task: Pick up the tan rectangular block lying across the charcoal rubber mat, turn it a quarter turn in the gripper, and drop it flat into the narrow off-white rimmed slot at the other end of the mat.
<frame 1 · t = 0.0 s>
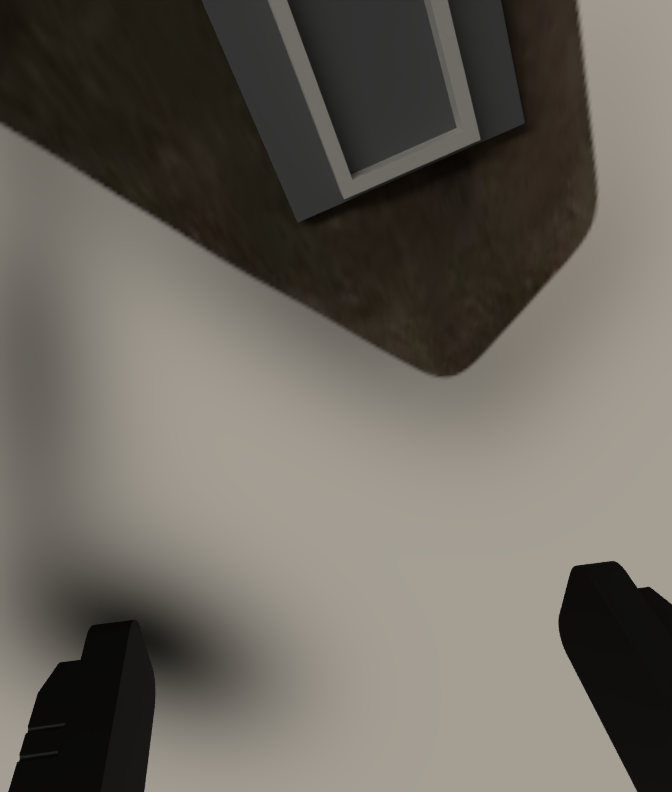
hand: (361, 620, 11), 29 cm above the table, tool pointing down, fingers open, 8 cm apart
slot frame: (370, 56, 32), resting on mat
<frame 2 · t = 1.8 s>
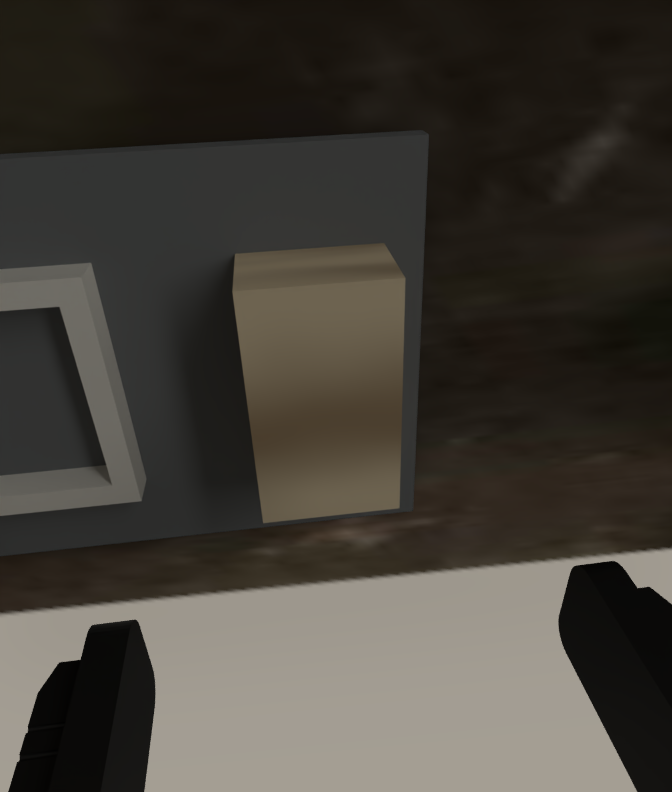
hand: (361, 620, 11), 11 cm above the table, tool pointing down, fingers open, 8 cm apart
mat: (92, 373, 20), on the table
tan rectangular block: (317, 365, 20), point 1 cm above the table, touching mat
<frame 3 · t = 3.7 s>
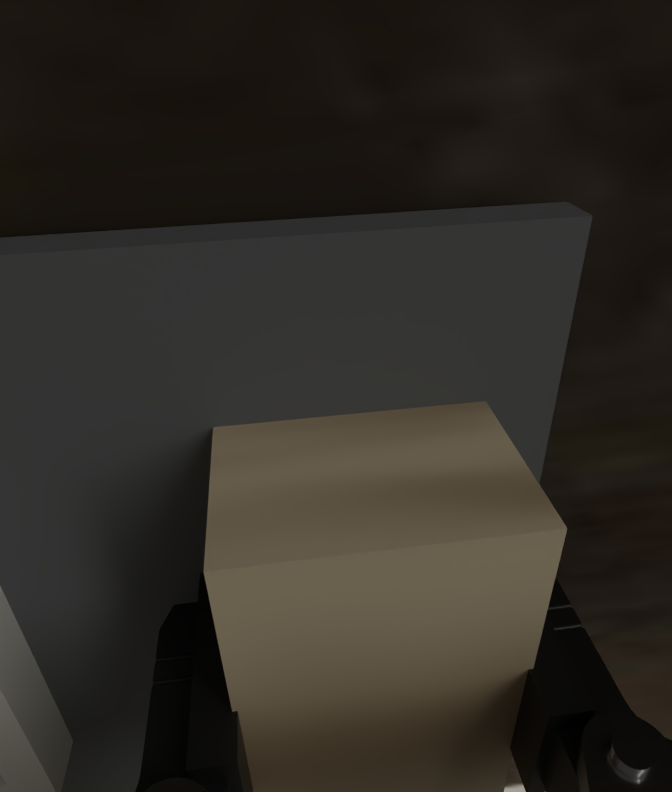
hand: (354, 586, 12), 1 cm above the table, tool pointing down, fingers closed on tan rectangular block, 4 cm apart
tan rectangular block: (354, 581, 12), point 1 cm above the table, touching gripper, mat
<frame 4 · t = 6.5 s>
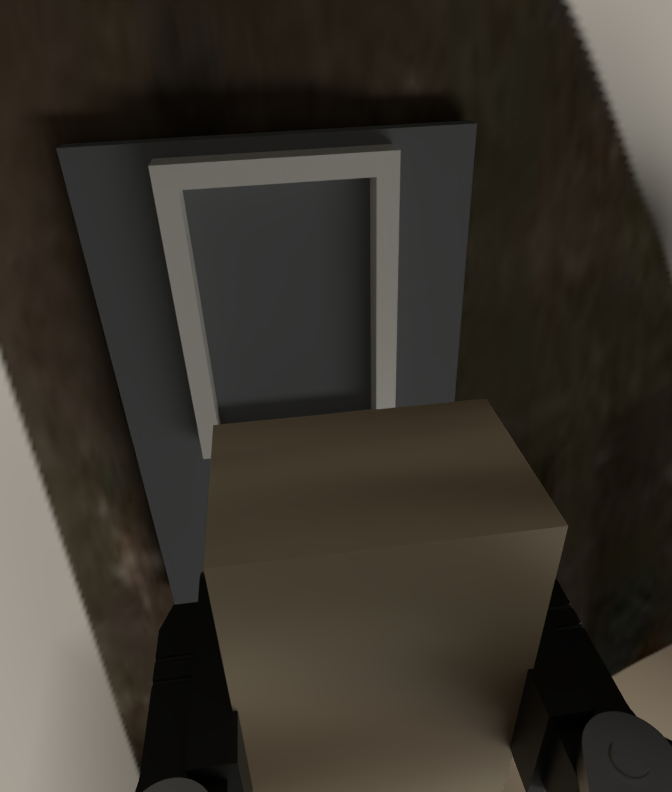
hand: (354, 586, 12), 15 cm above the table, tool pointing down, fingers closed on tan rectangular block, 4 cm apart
slot frame: (286, 302, 24), resting on mat
mat: (294, 401, 27), on the table
tan rectangular block: (354, 579, 12), point 14 cm above the table, touching gripper
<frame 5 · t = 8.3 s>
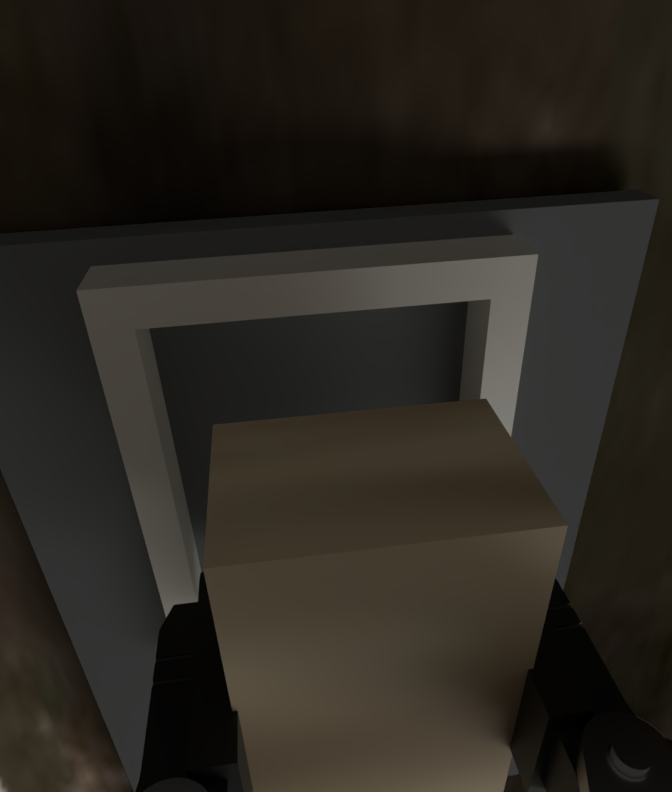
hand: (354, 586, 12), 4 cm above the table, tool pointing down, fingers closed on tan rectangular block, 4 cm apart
slot frame: (318, 463, 15), resting on mat
mat: (326, 589, 18), on the table
tan rectangular block: (354, 579, 12), point 4 cm above the table, touching gripper
when the fingers open (2 cm above the table, at t = 9.5 s): tan rectangular block drops 1 cm, resting on mat.
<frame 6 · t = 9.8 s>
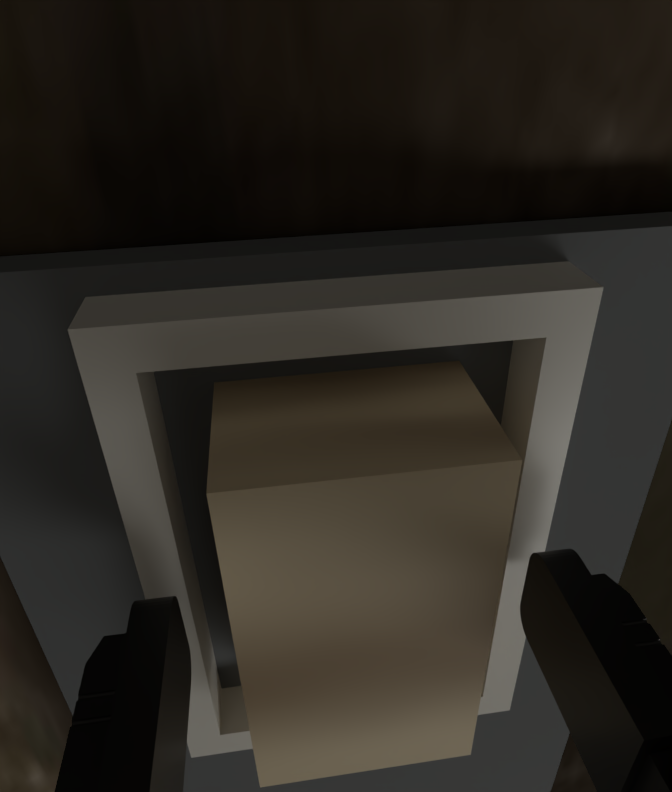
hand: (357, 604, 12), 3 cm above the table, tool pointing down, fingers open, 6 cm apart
slot frame: (338, 506, 14), resting on mat
mat: (342, 637, 16), on the table
tan rectangular block: (343, 531, 13), point 1 cm above the table, touching mat
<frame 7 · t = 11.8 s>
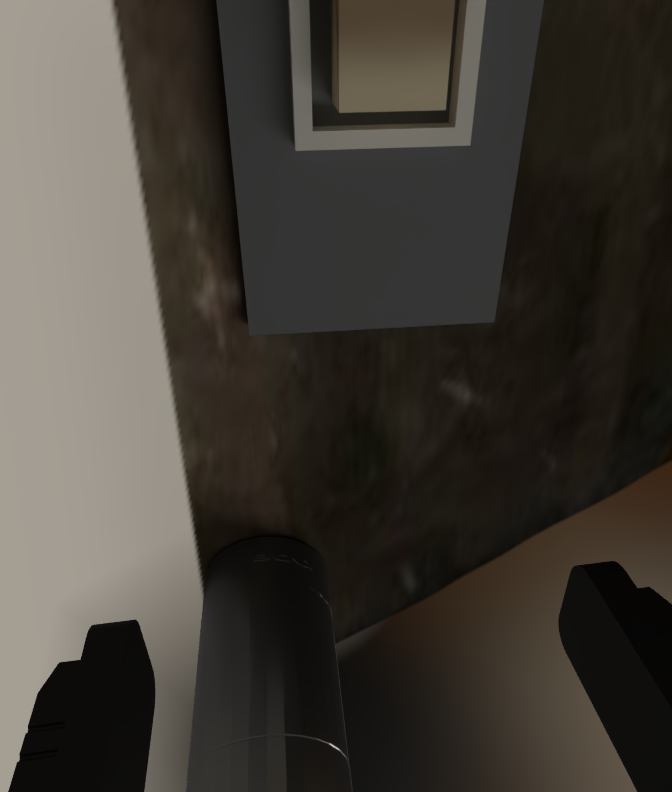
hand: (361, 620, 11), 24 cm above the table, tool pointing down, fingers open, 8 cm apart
mat: (377, 114, 29), on the table
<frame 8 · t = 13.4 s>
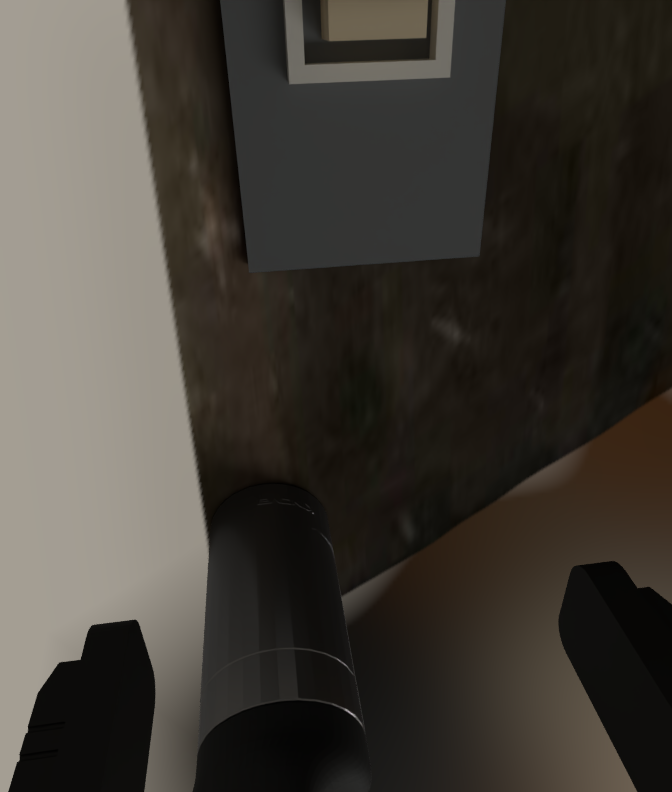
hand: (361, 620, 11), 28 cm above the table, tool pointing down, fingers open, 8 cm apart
mat: (363, 53, 31), on the table
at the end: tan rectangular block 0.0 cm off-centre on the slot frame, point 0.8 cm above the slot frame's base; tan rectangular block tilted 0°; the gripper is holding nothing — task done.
